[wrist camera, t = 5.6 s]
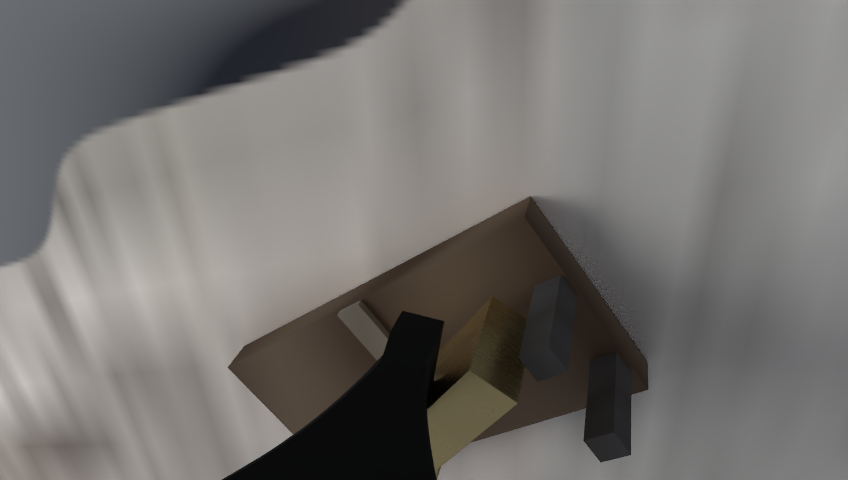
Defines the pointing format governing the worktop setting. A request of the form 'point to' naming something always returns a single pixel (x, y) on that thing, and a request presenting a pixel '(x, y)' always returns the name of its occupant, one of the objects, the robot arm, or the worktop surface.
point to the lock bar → (475, 379)
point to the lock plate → (455, 304)
